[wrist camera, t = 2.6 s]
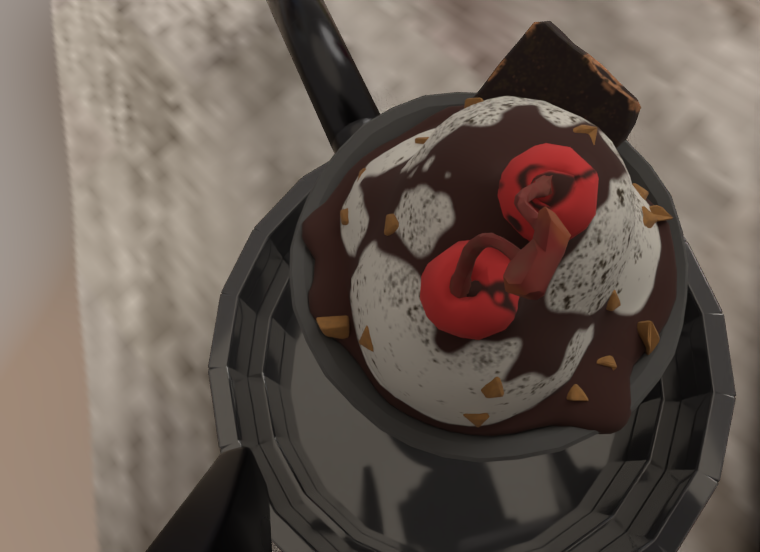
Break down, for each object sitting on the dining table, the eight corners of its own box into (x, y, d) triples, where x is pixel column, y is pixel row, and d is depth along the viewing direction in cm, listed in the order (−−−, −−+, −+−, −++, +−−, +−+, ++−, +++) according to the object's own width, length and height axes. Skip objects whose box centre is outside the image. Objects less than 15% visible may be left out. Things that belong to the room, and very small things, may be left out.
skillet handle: (398, 165, 20) (396, 133, 18) (346, 186, 19) (338, 155, 18) (290, -56, 24) (278, -101, 22) (246, -39, 23) (231, -84, 22)
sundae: (415, 508, 17) (378, 665, 3) (325, 325, 19) (70, -58, 5) (594, 409, 18) (1229, 170, 4) (487, 242, 20) (635, -296, 6)
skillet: (765, 432, 18) (858, 420, 14) (391, 707, 16) (381, 780, 12) (497, 124, 22) (512, 53, 18) (185, 311, 20) (132, 275, 17)
